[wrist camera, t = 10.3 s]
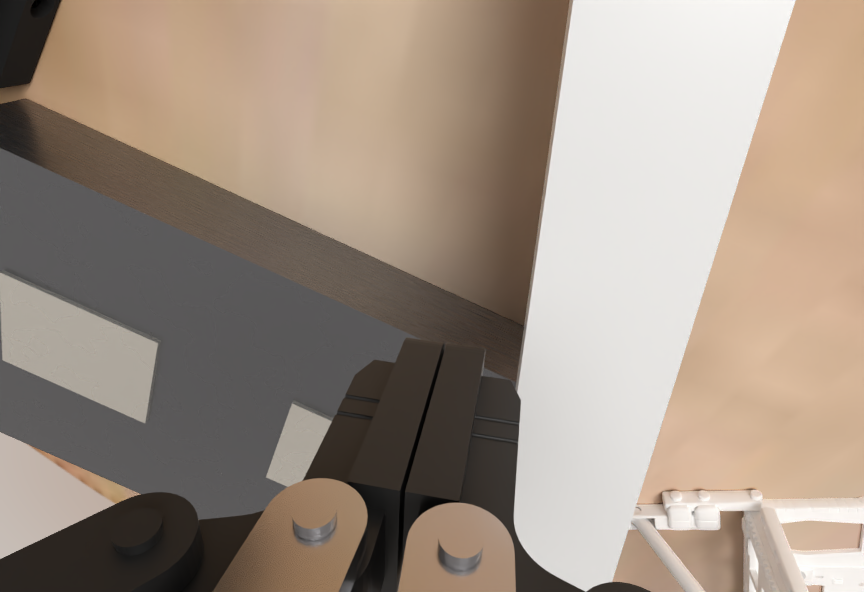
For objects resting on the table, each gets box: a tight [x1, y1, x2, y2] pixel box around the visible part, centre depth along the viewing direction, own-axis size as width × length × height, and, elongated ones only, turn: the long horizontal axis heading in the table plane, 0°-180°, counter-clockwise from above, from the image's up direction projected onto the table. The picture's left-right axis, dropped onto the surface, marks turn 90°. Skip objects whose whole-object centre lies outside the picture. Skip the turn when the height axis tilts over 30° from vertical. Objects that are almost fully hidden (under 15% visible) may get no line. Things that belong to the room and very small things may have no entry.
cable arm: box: [514, 0, 795, 592], centre depth 17 cm, size 28×4×4 cm, turn 178°
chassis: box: [0, 99, 524, 520], centre depth 26 cm, size 30×16×4 cm, turn 68°
